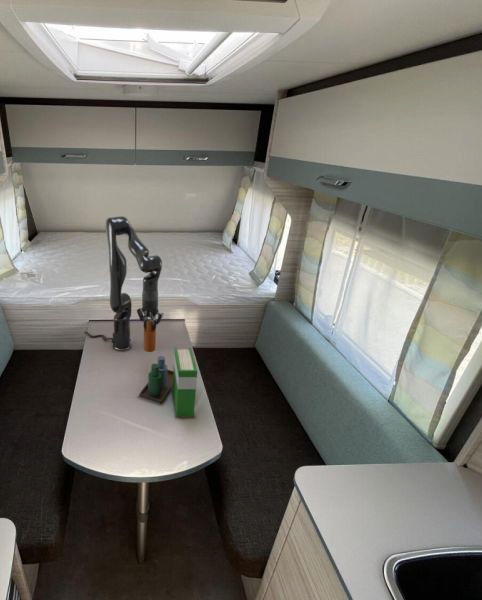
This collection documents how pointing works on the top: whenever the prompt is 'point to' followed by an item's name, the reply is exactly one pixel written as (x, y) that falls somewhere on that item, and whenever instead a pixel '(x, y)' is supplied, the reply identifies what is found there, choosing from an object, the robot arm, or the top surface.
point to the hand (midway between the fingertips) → (149, 329)
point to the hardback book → (184, 382)
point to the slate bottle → (162, 371)
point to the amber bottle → (149, 337)
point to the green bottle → (154, 381)
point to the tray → (163, 392)
